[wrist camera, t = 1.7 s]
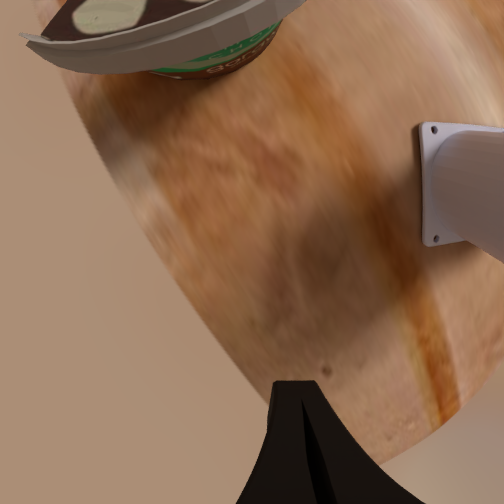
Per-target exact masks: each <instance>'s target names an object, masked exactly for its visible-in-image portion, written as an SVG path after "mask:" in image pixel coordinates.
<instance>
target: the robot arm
mask: <svg viewBox="0 0 504 504" xmlns="http://www.w3.org/2000/svg"><path fill="white" fill-rule="evenodd" d="M431 127H433V128H434V133H432V132H431ZM419 138H420V149H421V164H422V189H423V225H422V242H423V244H424V245H426V246H427V247H432V246H438V245H444V244H449V243H455V242H460V241H466V240H467V241H468V242H470V243H472V244H473V245H475V246H477V247H478V248H480V249H482V250H483V251H485V252H487V253H488V254H490V255H491V256H493V257H495V258H496V259H498V260H499V261H501V262H502V263H504V128H498V127H489V126H480V125H470V124H458V123H443V122H422V123H421V124H420V125H419ZM435 236H437V237H436V239H435V240H433V239H434V237H435ZM236 504H425V503H424V502H422V501H420V500H419V499H418V498H416V497H415V496H414V495H412V494H411V493H409V492H408V491H407V490H405V489H404V488H403V487H401V486H400V485H399V484H398V483H396V482H395V481H394V480H393V479H392V478H391V477H389V475H387V474H386V473H385V472H384V471H383V470H382V469H381V468H380V467H379V466H378V465H377V464H376V463H375V462H374V461H373V460H372V459H371V458H370V457H369V456H368V454H367V453H366V452H365V451H364V450H363V449H362V448H361V446H360V445H359V444H358V443H357V442H356V440H355V439H354V438H353V437H352V435H351V434H350V433H349V431H348V430H347V429H346V427H345V426H344V424H343V423H342V422H341V420H340V419H339V418H338V416H337V415H336V413H335V412H334V410H333V409H332V407H331V406H330V404H329V402H328V401H327V399H326V398H325V396H324V394H323V393H322V391H321V389H320V388H319V386H318V384H317V383H316V382H315V381H314V380H307V381H275V382H274V383H273V386H272V392H271V398H270V404H269V411H268V417H267V433H266V436H265V439H264V442H263V445H262V448H261V451H260V453H259V456H258V459H257V461H256V464H255V466H254V469H253V471H252V473H251V475H250V477H249V479H248V481H247V483H246V486H245V487H244V489H243V491H242V493H241V495H240V497H239V499H238V500H237V502H236Z"/></svg>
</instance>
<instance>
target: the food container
mask: <svg viewBox="0 0 504 504" xmlns="http://www.w3.org/2000/svg"><path fill="white" fill-rule="evenodd" d="M305 1H306V0H67V1H66V3H65V4H64V5H63V6H62V8H61V9H60V10H59V11H58V12H57V14H56V15H55V16H54V18H53V19H52V20H51V21H50V23H49V24H48V25H47V27H46V28H45V29H44V31H43V32H42V34H41V36H37V35H31V34H25V33H20V34H19V35H20V36H22V37H24V38H26V39H29V42H28V43H27V44H26V46H27V47H29V48H30V49H31V50H33V51H34V52H35V53H37V54H38V55H40V56H41V57H42V58H43V59H45V60H47V61H49V62H51V63H53V64H54V65H56V66H58V67H61V68H65V69H68V70H72V71H75V72H80V73H91V74H100V75H102V74H127V73H133V72H139V71H147V72H150V73H153V74H156V75H161V76H166V77H170V78H174V79H178V80H194V79H210V78H213V77H216V76H220V75H223V74H227V73H230V72H234V71H236V70H237V69H239V68H241V67H242V66H244V65H246V64H248V63H249V62H251V61H253V60H254V59H255V58H256V57H257V56H259V55H260V54H261V53H262V52H263V51H264V50H265V49H266V47H267V46H268V45H269V44H270V42H271V41H272V39H273V38H274V36H275V34H276V32H277V30H278V28H279V26H280V24H281V22H282V20H283V18H284V17H285V16H287V15H288V14H290V13H291V12H293V11H294V10H295V9H297V8H298V7H300V6H301V5H302V4H303V3H304V2H305Z"/></svg>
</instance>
